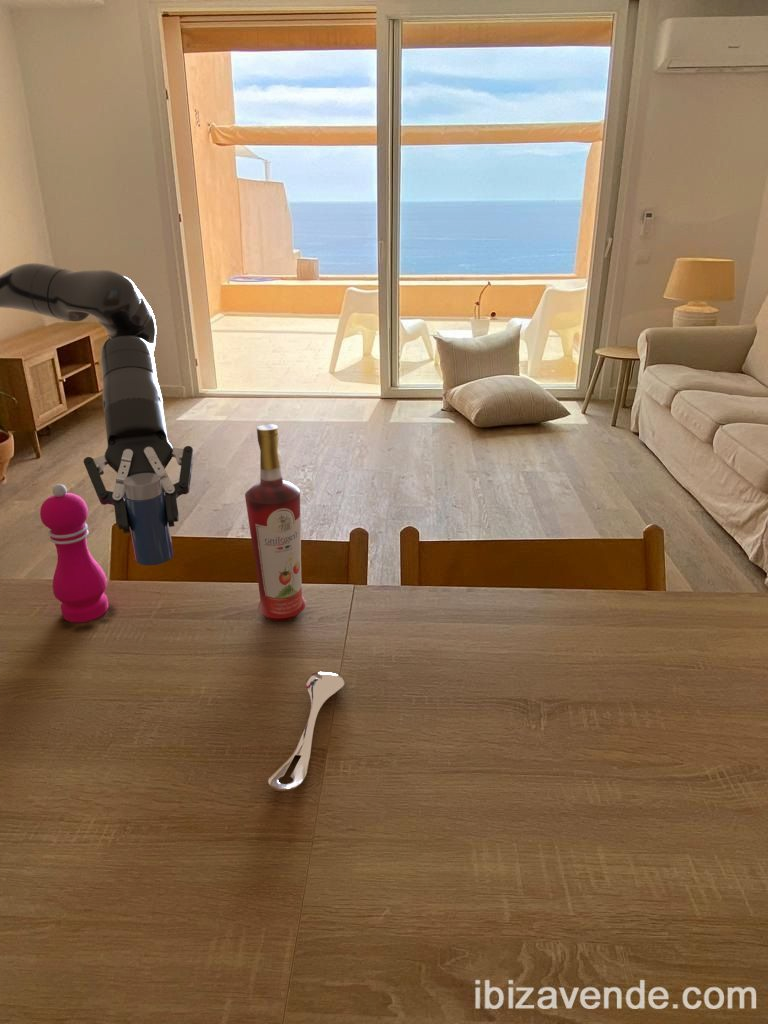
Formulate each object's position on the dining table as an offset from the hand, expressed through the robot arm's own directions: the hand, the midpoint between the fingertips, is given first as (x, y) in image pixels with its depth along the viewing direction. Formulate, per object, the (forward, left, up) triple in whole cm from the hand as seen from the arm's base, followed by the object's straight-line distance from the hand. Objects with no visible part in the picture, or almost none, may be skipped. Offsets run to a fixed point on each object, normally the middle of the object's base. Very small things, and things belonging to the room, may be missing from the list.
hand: (148, 527), depth 88 cm
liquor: (+15, +7, -17) cm, 24 cm away
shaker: (-1, +2, -5) cm, 5 cm away
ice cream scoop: (+22, -18, -17) cm, 33 cm away
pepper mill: (-14, +7, -17) cm, 24 cm away
